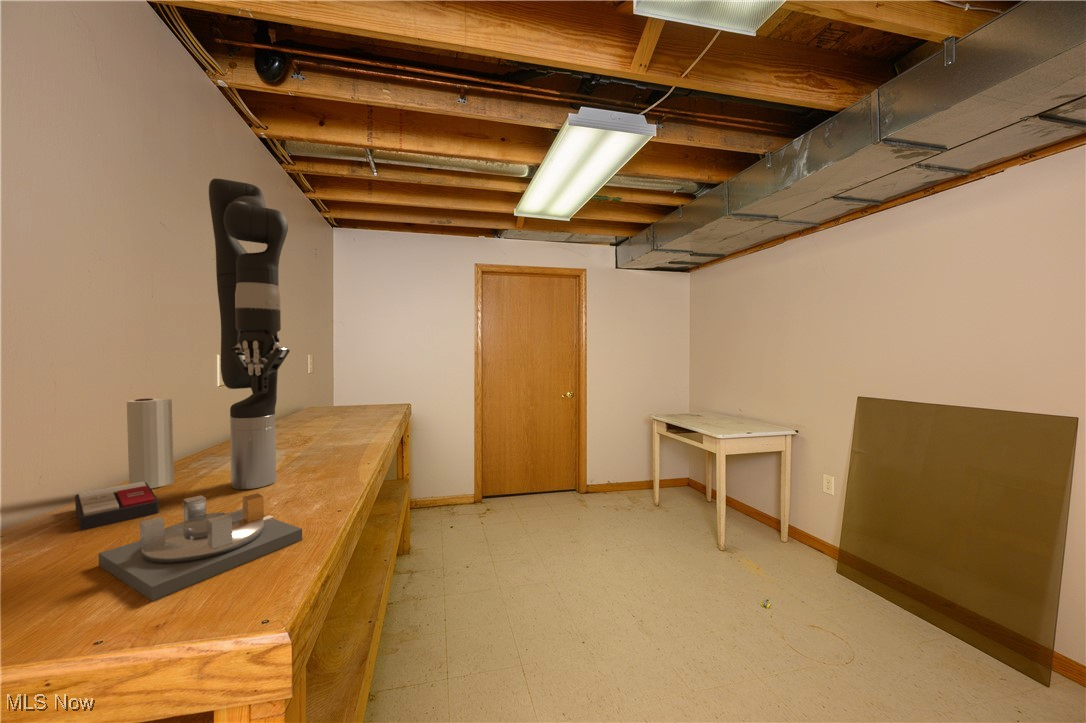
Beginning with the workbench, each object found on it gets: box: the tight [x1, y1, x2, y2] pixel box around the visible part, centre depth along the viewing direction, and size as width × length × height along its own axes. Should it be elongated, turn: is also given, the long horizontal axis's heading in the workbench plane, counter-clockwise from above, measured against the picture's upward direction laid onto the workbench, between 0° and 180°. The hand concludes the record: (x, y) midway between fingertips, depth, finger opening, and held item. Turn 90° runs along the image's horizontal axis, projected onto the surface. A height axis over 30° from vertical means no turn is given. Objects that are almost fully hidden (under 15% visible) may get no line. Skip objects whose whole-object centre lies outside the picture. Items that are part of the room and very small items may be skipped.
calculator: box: [74, 482, 160, 531], centre depth 88 cm, size 11×4×15 cm
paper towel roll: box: [126, 398, 175, 490], centre depth 102 cm, size 7×6×21 cm
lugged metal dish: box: [139, 492, 265, 563], centre depth 71 cm, size 16×16×5 cm
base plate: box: [98, 508, 303, 602], centre depth 72 cm, size 19×21×2 cm
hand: (259, 393), depth 86 cm, fingers closed
